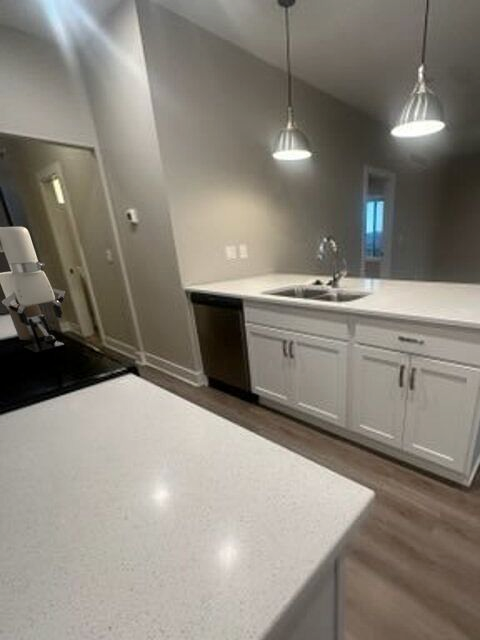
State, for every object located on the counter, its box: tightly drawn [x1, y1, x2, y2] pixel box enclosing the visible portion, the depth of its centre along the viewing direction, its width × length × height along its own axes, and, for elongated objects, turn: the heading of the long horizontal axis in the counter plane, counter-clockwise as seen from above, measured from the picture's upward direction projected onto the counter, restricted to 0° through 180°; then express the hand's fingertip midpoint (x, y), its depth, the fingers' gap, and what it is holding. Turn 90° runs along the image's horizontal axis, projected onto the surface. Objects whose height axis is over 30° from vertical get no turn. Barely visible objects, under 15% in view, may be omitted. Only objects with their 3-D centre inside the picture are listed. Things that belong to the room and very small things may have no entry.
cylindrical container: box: [0, 271, 16, 305], centre depth 140 cm, size 7×7×25 cm
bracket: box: [24, 314, 65, 353], centre depth 122 cm, size 12×9×12 cm
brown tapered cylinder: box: [6, 304, 45, 341], centre depth 134 cm, size 10×10×15 cm
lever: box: [30, 316, 57, 345], centre depth 119 cm, size 13×3×3 cm
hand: (43, 320), depth 115 cm, fingers open, 9 cm apart
